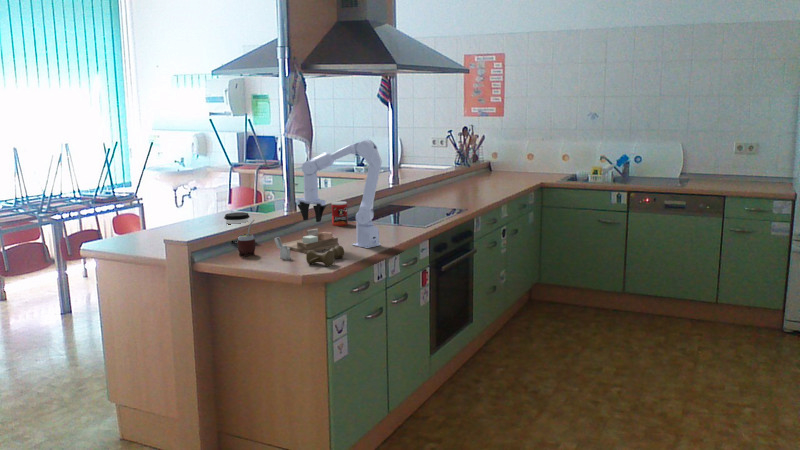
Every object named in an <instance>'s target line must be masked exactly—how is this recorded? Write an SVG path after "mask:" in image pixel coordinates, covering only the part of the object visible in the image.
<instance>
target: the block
mask: <svg viewBox="0 0 800 450" xmlns="http://www.w3.org/2000/svg"><path fill="white" fill-rule="evenodd" d="M301 240H302V241H303V243H306V244H309V243H314V242H318V237H317V236H312V235H310V236H307V235H305V236H302V238H301Z"/></svg>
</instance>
